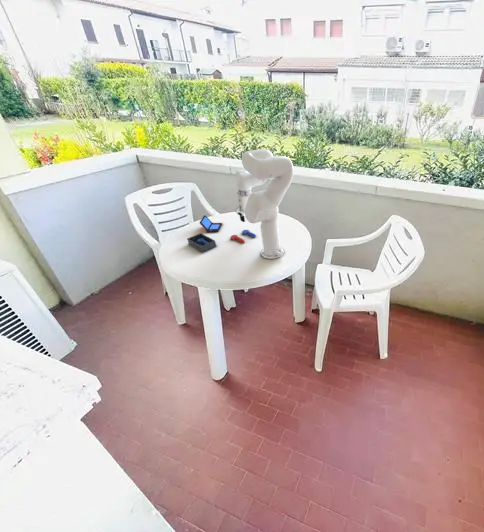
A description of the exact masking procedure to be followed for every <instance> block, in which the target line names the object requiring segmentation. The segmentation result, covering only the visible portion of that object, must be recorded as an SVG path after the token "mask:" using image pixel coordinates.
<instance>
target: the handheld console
mask: <svg viewBox="0 0 484 532" xmlns="http://www.w3.org/2000/svg"><path fill="white" fill-rule="evenodd" d="M199 224H200V225H201V227H202V228H203V229H204V230H205V231H206V233H219V231H220V230H221V227H222V226H223V222H212V221H211V220H210V218H209V217H208V216H207V215H203V216H202V218H201V219H200V221H199Z"/></svg>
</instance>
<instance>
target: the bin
mask: <svg viewBox="0 0 484 532" xmlns="http://www.w3.org/2000/svg"><path fill="white" fill-rule="evenodd" d="M199 238H204V239H205V241H207V242H209V243H208V244H203V243H201V244H200V243H198V242H197V240H198V239H199ZM186 240H187V244H188V246H191V247H192V248H194V249H196V250H197V251H199V252H201V254H202V253H205V252H208V251H210V250H212V249H214V248H217V243H216V240H215V239H213V238H211V237H209V236H207V235H205V234H203V233H201V232H200V233H198V234H196V235H193V236H190V237H188V238H186Z"/></svg>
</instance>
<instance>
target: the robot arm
mask: <svg viewBox="0 0 484 532" xmlns="http://www.w3.org/2000/svg"><path fill="white" fill-rule="evenodd" d="M241 165H242V167H243V168H241V169H237V170H236V171H235V180H236V185H237V186H236V187H237V192H236V194H237V195H238V196H237V205H238V207H236V209H234V212H235V213H236V215H238V216H239V219H240V222H243V223H245V222H246V221H247V222H248V223H250V224H257V223H260V233H261V242H262V247H263V249H262V250H261V251H260V253H261V254H260V255H261V256H262V258H265V259H269V260H274V259H278V258H282V257H283V256H284V254H285V251H284V249H283V248H282V247H281V243H280V242H281V241H280V240H281V239H280V231H279V205H280V204H281V202H282V200H283V199H284V196H285V194H286V192H287V190H288V189H289V187H290V186H291V184H292V181H293V179H294V172H295V171H294V163H293V161H292V160H291V158H290V157H288V156H285V155H276V156H275V155H273V152H272V151H271V150H269V149H267V148H258V149H251V150H247V151H245V152H243V153H242V155H241ZM270 179H271V180H270ZM268 180H270V181H269V182H268V185H267V187H266V188H265V189H263V190H259V191H254V192H253V189H252V188H254V187H258V186H259V187H260V186H262V185H264V184H265V183H266V182H267V181H268Z"/></svg>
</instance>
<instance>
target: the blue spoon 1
mask: <svg viewBox="0 0 484 532" xmlns="http://www.w3.org/2000/svg"><path fill="white" fill-rule="evenodd" d="M197 242H198V243H200V244H201V243H203V244H208V243H209V242H207V241H205V239H204V238H199V239H198V240H197Z"/></svg>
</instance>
